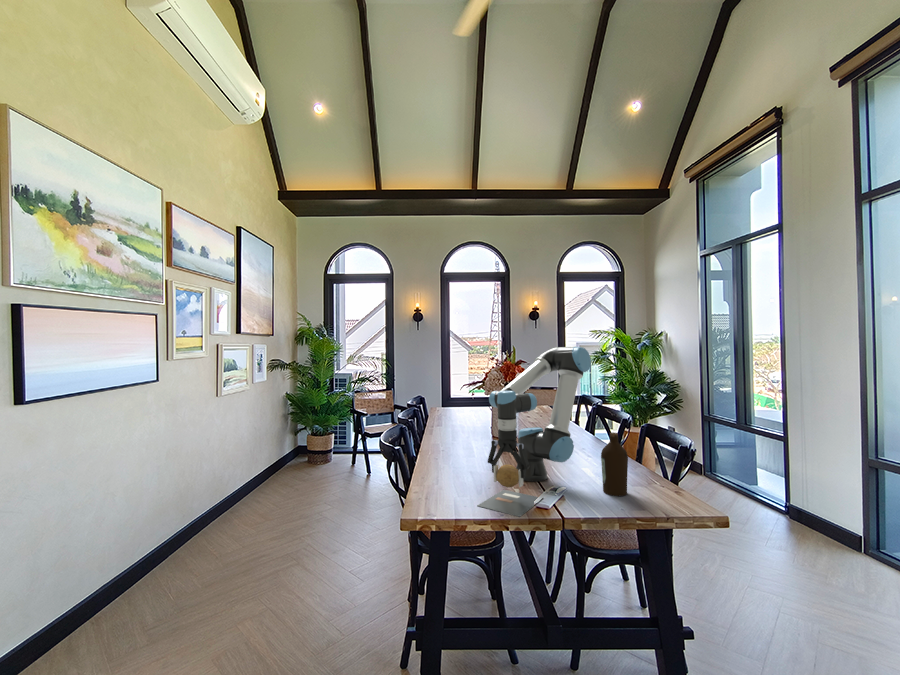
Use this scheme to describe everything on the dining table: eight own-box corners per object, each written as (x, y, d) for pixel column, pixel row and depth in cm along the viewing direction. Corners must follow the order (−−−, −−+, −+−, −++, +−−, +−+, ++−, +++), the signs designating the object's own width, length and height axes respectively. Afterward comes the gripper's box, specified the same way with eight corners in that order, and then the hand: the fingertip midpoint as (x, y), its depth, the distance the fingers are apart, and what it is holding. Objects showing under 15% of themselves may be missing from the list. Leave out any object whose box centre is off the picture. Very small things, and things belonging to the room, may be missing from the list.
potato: (518, 480, 173) (517, 461, 173) (522, 492, 159) (522, 471, 159) (495, 480, 173) (494, 461, 174) (497, 492, 159) (497, 471, 160)
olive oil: (628, 490, 175) (626, 431, 176) (629, 498, 165) (628, 436, 166) (601, 487, 179) (600, 430, 180) (601, 495, 169) (600, 434, 170)
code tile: (503, 490, 176) (503, 489, 176) (543, 498, 165) (543, 497, 165) (477, 506, 158) (477, 505, 158) (519, 516, 147) (519, 515, 147)
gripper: (478, 427, 170) (479, 481, 170) (529, 433, 157) (531, 491, 156) (487, 424, 176) (488, 476, 176) (537, 430, 163) (538, 485, 163)
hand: (508, 483), depth 166 cm, fingers closed on potato, 10 cm apart
